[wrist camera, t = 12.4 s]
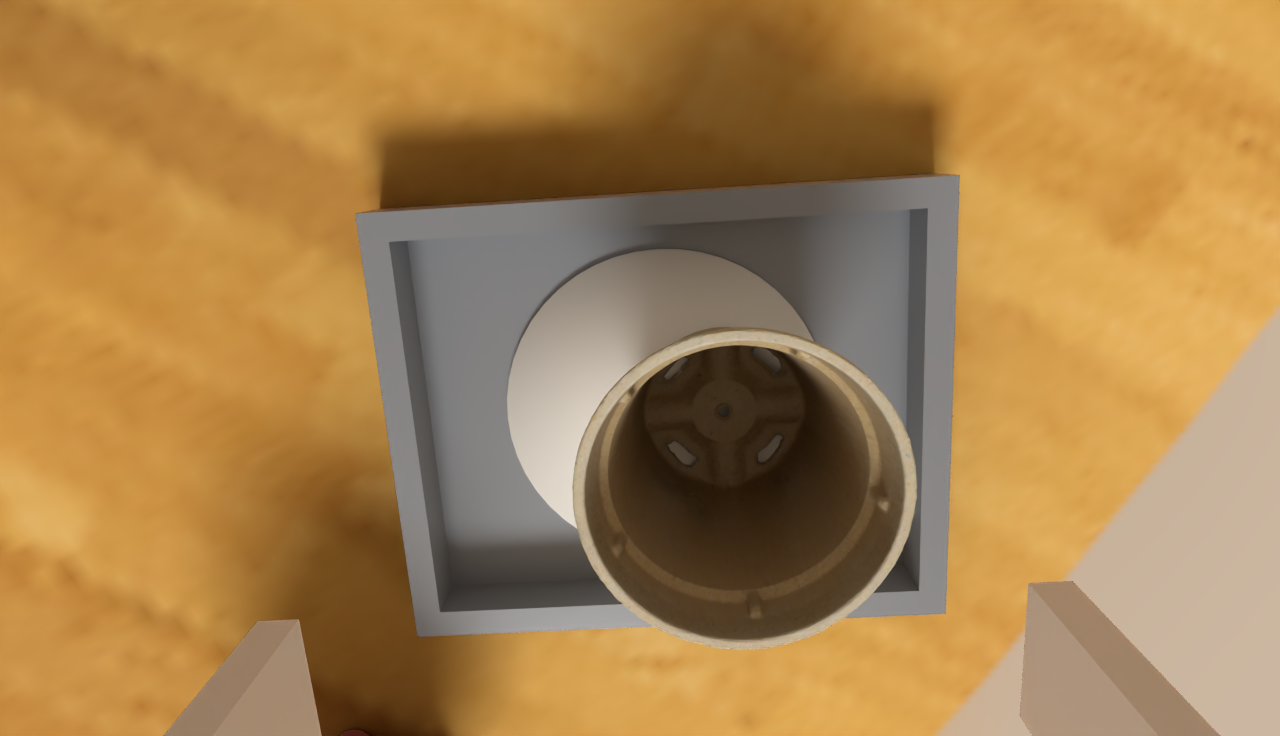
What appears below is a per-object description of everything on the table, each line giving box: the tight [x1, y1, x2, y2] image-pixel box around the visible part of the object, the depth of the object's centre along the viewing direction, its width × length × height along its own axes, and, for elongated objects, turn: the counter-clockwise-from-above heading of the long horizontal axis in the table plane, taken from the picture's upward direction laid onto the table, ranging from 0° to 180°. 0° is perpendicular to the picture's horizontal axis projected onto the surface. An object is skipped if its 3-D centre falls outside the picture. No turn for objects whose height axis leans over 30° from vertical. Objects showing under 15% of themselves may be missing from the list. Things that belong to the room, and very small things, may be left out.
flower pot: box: [572, 327, 917, 650], centre depth 27 cm, size 9×9×9 cm
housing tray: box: [355, 174, 960, 637], centre depth 31 cm, size 16×20×2 cm
